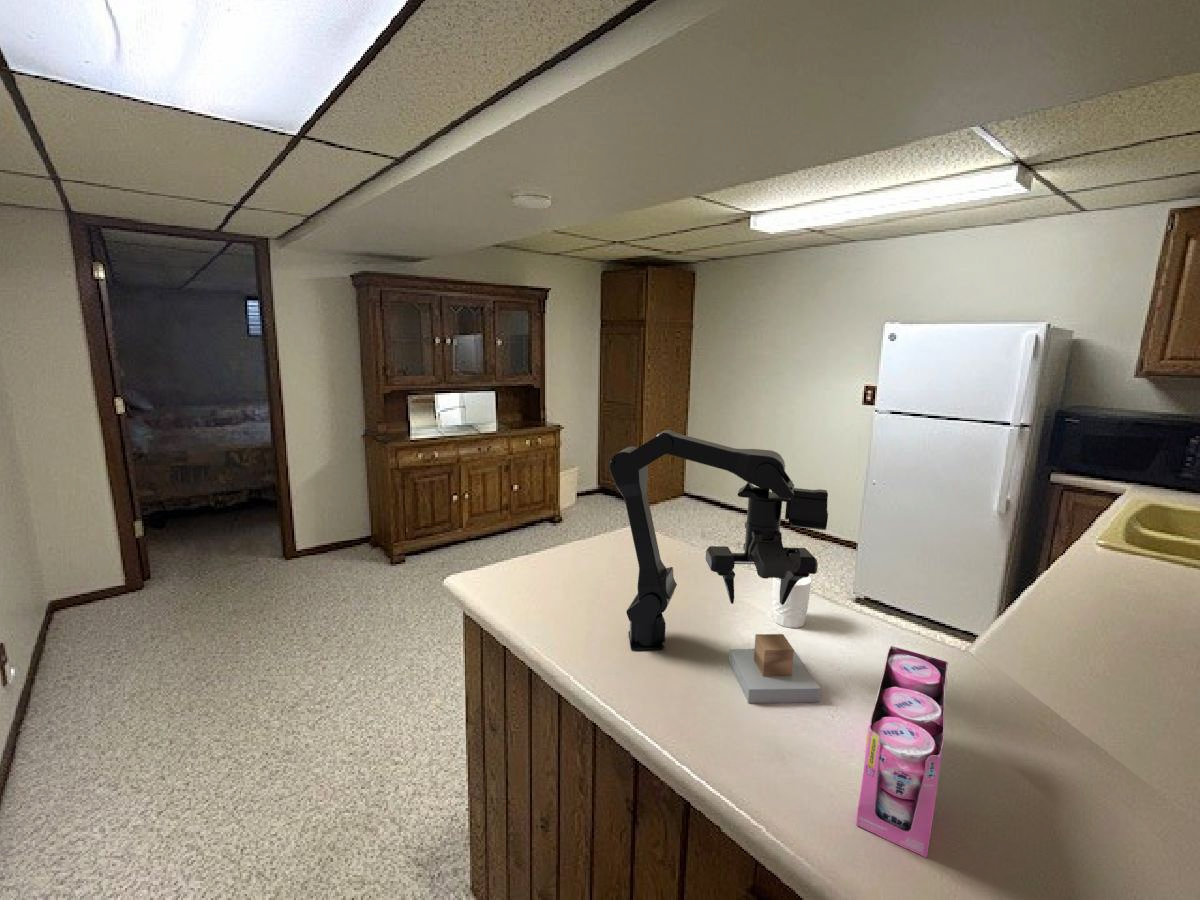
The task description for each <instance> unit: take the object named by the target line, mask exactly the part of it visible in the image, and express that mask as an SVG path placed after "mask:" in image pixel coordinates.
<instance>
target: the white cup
mask: <svg viewBox="0 0 1200 900" xmlns="http://www.w3.org/2000/svg"><path fill="white" fill-rule="evenodd" d="M771 579H772V580H771V581H772V583H771V586H772V587H771V609H772V610H771V611H772V612H771V613H772V614H771V615H772V616H771V617H772V620H773V622H774V623H776V624H777V625H780V626H782V627H785V628H790V629H793V628H794V629H796V628H797V629H798V628H801V627H803V626H805V624H806V622H807V621H806V619H807V612H808V609H809V603H810V602H809V601H810V595H811V594H810V593H811V589H812V588H811V587H812V582H813V581H812V578H811V577H810V575H809V576H808V577H804V578H802V579H800V580H798V581H797V583H796V584H795V585H794V587H793V589H792V590H791V592H790V594H789V596H788V598H787V600H786V602H785V603H784V605H781V603H780V584H781V579H779V578H771Z"/></svg>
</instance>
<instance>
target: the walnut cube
mask: <svg viewBox="0 0 1200 900" xmlns="http://www.w3.org/2000/svg"><path fill="white" fill-rule="evenodd" d="M754 636H755V638H754V639H755V640H754V649H755V650H754V661H755V663H756V665H757V666H758V668H759V670H760V672H761V674H762V676H792V666H793V653H794V650H795V649H794V647H792V645H791V643H790V642H789V640H788V639H787V637H786V636H785V635H784V634H783V633H774V634H773V633H770V634H769V633H766V634H765V633H761V634H760V633H758V634H755V635H754Z"/></svg>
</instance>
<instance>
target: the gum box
mask: <svg viewBox="0 0 1200 900" xmlns="http://www.w3.org/2000/svg"><path fill="white" fill-rule="evenodd" d="M948 664H949V661H946V660H943V659H939V658H936V657H933V656H928V655H926V654H921V653H918V652H915V651H911V650H908V649H904V648H902V647H901V648H900V647H896V646H893V645H891V646H890V647H888V651H887V656H886V659H885V663H884V668H883V671H882V676H881V681H880V684H879V687H878V691H877V695H876V699H875V703H874V707H873V710H872V713H871V716H870V720H869V723H868V728H867V734H866V736H867V737H866V744H865V751H864V752H865V753H864V760H863V768H862V769H863V770H862V777H861V783H860V784H861V785H860V791H859V797H858V799H859V800H858V803H857V812H856V819H855V825H856V826H857V827H860V828H862V829H864V830H866V831H868V832H871V833H873V834H875V835H877V836H878V837H881V838H882V839H885V840H887V841H889V842H891V843H893V844H896V845H898V846H900V847H902V848H905V849H906V850H909V851H911V852H913V853H915V854H918V855H920V856H922V857H924V858H927V857H928V853H929V846H930V840H931V834H932V833H931V832H932V828H933V827H932V826H933V819H934V814H935V813H934V812H935V804H936V799H937V790H938V784H939V778H940V773H941V772H940V771H941V767H942V766H941V765H942V759H943V758H942V757H943V752H944V751H943V750H944V744H945V741H944V740H945V724H946V699H947V698H946V696H947V693H946V691H947V673H948Z"/></svg>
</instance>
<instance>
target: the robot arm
mask: <svg viewBox="0 0 1200 900" xmlns="http://www.w3.org/2000/svg"><path fill="white" fill-rule="evenodd" d="M665 455H670V456H671V457H672V456H673V457H676V458H681V459H684V460H687V461H690V462H694V463H698V464H701V465H706V466H710V467H711V468H716V469H721V470H723V471H727V472H729V473H732V474H734V476H737V478H740V479H741V480H743V481H744V482H746V483H745V485H743V486H742V487H740V488H739V490H738V492H737V497H738V498H739V497H740V498H747V499H748V500H747V511H746V512H747V514H746V521H745V522H744V529H745V541H744V543H743V544H742V545H743V546H742V548H743V550H744V551H743V552H732V551H731V549H730V547H729V546H726V545H725V546H724V545H723V546H721V545H720V546H719V545H718V546H716V545H715V546H713V545H710V546H708V547H707V548H706V549H705V550H706V551H705V561H706V563H707V565H708V567H709V569H710V571H711V572H713V573H716V574H717V575H718V576H719V577H720V576H721V577H722V579H723V582H724V586H725V589H726V592H727V596H728V599H729V602H730V604H731V605H733V604H734V602H735V577H736V573H735V571H734V569H735V565H754V567H755V569H756V573H757V575H758V576H759V578H761V579H770V578H771V579H772V578H779V579H781V584H780V603H781V605H784V603H785V602H786V600H787V598H788V596H789V594H790V592H791V590H792V589H793V587H794V585H795V584H796V583H797V581H798V580H800V579H802V578H804V577H808V576H809V577H810V575H816V574H817V573H818V566H819V565H818V564H819V562H818V559H817V558H816V557H815V556H814V555H813V554H812V553H811V552H810V551H809V550H808V549H807V548H806V547H786V546H785V547H784V545H783V537H782V535H783V534H782V532H781V520H782V507H783V503H784V502H785V513H784V514H785V515H784V520H785V521H788V524H790V526H791V527H795V528H804V529H812V530H820V531H826V530H827V526H828V517H829V511H828V496H829V492H828V491H827V489H822V488H821V489H808V488H807V489H805V488H799V487H795V484H794V483H793V480H792V479H791V478H790V476H789V475H788V473H787V472H786V463H785V460H784V458H783V456H782V455H781V454H780V453H778V452H777V451H774V450H769V449H759V448H736V447H735V448H734V447H731V446H726V445H723V444H719V443H715V442H713V441H712V442H711V441H708V440H704V439H701V438H697V437H692V436H688V435H685V434H680V433H677V432H675V431H674V430H671V429H665V430H662V431H661V432H660V433H658V434H657V435H655V437H654V438H652V439H650V440H649V441H646V442H645V443H643V444H641V445H640V446H629V447H626V448H624V449H621V451H619V452H617V453H616V454H615V455H613V456H612V458H611V460H610V461H609V472H610V474H611V476H612V480H613V483H614V484H615V486H616V488H617V490H618V491H619V493H620V494H621V496H622V497H623V499H624V504H625V508H626V512H627V518H628V523H629V527H630V531H631V535H632V540H633V545H634V546H633V547H634V549H635V553H636V559H637V564H638V570H639V571H638V577H637V578H638V579H637V594H636V595H635V597H634V599H633V600H632V601H631V603H630V605H629V606H628V608H627V609H626V615H627V619H628V622H629V630H628V632H627V634H628V639H629V648H630V650H631V651H660V650H664V649H665V645H664V643H665V642H666V628H667V627H666V624H667V623H666V619H665V617H664V616H663V613H664V612H665V611H666V609H667V608H668V606H669V604H670V602H671V599H672V598H673V595H674V594H675V590H676V588H677V585H678V584H677V582H676V581H675V578H674V567H673V566H670V567H666V565H665V564H664V563H663V561H662V558H661V554H660V550H659V549H660V548H659V545H658V539H657V535H656V530H655V526H654V525H655V524H654V520H653V515H652V511H651V507H650V501H649V496H648V482H649V465H650V464H651V463H652V462H655V461H656V460H658V459H660V458H662V457H663V456H665Z"/></svg>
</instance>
